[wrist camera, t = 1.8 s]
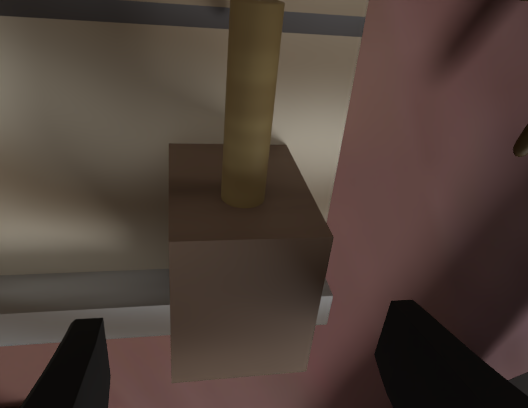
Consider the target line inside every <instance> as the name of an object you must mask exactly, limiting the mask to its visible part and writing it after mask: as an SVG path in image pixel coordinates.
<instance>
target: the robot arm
mask: <svg viewBox="0 0 528 408" xmlns="http://www.w3.org/2000/svg"><path fill="white" fill-rule="evenodd" d="M374 355H375V358H376V362H377V365H378V368H379V372H380V375H381V378H382V381H383V384H384V387H385V390H386V393H387V395H388V397H389V399H390V402H391V404H392V406H393V408H528V396H527V395H526V394H525V393H523V392H522V391H521V390H519V389H518V388H517V387H516V386H514V385H513V384H512V383H510V382H509V381H508V380H506V379H505V378H504V377H503V376H501V375H500V374H499V373H498V372H496V371H495V370H494V369H493V368H491V367H490V366H489V365H488V364H487V363H485V362H484V361H483V360H482V359H481V358H479V357H478V356H477V355H476V354H475V353H473V352H472V351H471V350H470V349H469V348H468V347H466V346H465V345H464V344H463V343H462V342H461V341H460V340H458V339H457V338H456V337H455V336H454V335H453V334H452V333H450V332H449V331H448V330H447V329H446V328H445V327H444V326H442V325H441V324H440V323H439V322H438V321H437V320H436V319H434V318H433V317H432V316H431V315H430V314H429V313H428V312H426V311H425V310H424V309H423V308H422V307H421V306H419V305H418V304H417V303H416V302H415V301H413V300H400V301H391V303H390V306H389V309H388V313H387V316H386V319H385V322H384V325H383V328H382V332H381V335H380V338H379V341H378V344H377V348H376V351H375V354H374ZM109 389H110V368H109V360H108V352H107V344H106V336H105V328H104V320H103V318H87V319H75V320H74V321H73V322H72V323H71V324H70V326H69V328H68V330H67V332H66V334H65V335H64V337H63V339H62V341H61V343H60V345H59V346H58V348H57V350H56V352H55V353H54V355H53V357H52V358H51V360H50V362H49V363H48V365H47V367H46V368H45V370H44V372H43V373H42V375H41V376H40V378H39V379H38V381H37V382H36V384H35V385H34V387H33V388H32V390H31V391H30V393H29V395H28V396H27V398H26V399H25V401H24V402H23V404H22V405H21V407H20V408H108V401H109Z"/></svg>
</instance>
